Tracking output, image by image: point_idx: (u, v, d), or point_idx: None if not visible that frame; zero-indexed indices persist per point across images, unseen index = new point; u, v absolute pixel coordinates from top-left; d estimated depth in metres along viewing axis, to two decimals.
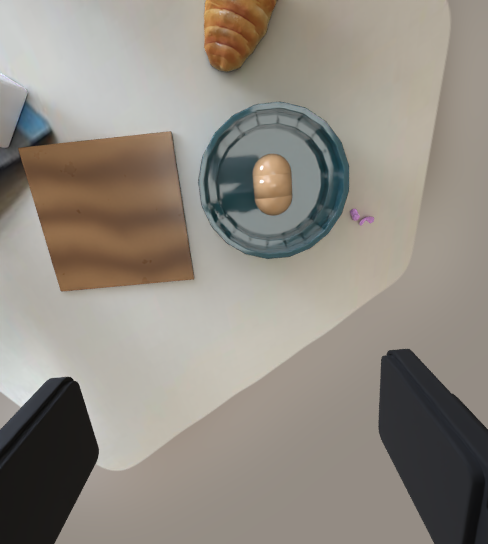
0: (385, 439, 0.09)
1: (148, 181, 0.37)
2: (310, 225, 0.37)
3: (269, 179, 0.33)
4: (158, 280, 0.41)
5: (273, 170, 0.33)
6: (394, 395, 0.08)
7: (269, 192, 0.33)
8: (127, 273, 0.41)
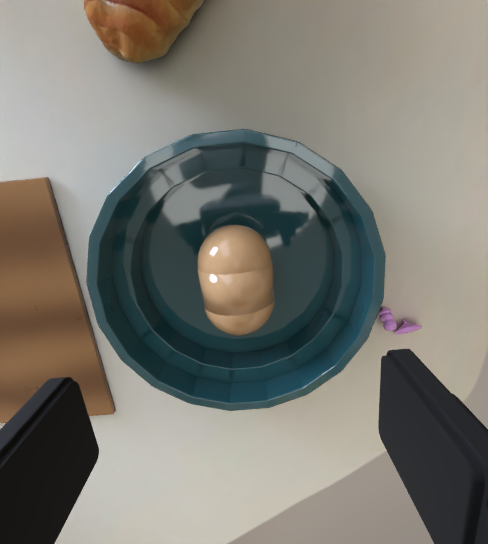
0: (385, 439, 0.09)
1: (16, 265, 0.21)
2: (308, 345, 0.20)
3: (225, 282, 0.16)
4: None
5: (233, 266, 0.16)
6: (394, 395, 0.08)
7: (227, 305, 0.17)
8: (1, 405, 0.24)
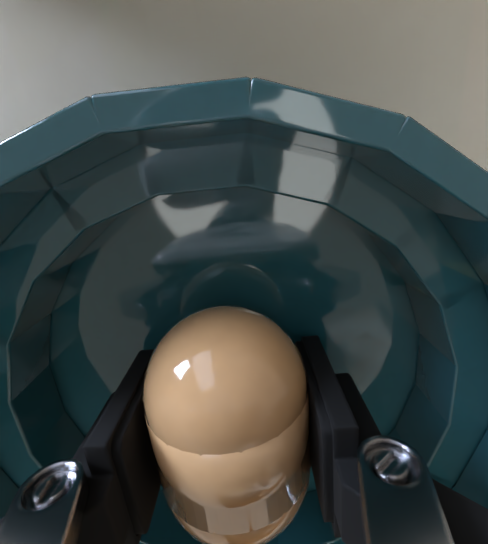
0: None
1: None
2: None
3: (202, 470, 0.07)
4: None
5: (219, 437, 0.06)
6: None
7: (206, 513, 0.07)
8: None
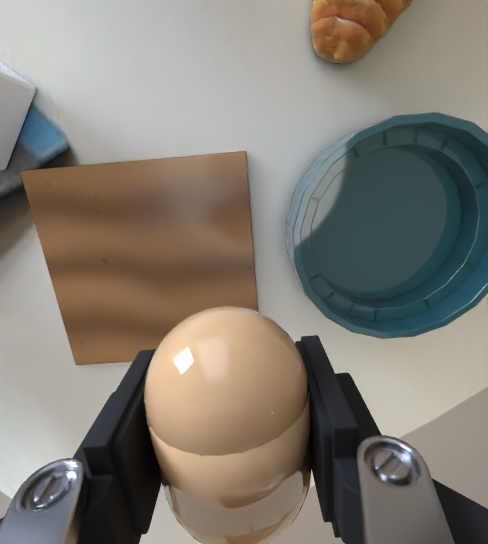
0: None
1: (208, 221, 0.26)
2: (441, 289, 0.26)
3: (203, 471, 0.07)
4: None
5: (221, 438, 0.06)
6: None
7: (207, 514, 0.07)
8: None
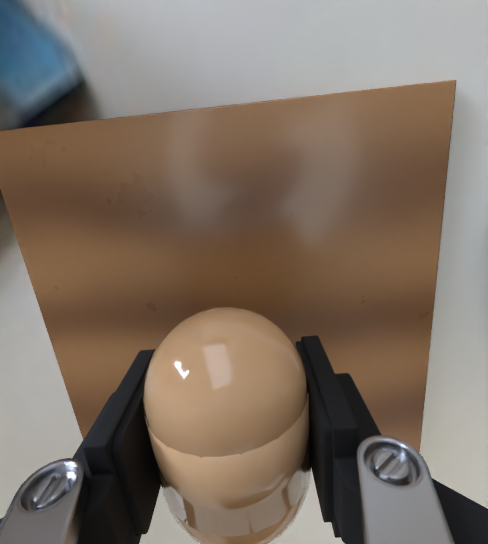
0: None
1: (357, 230, 0.13)
2: None
3: (202, 472, 0.07)
4: None
5: (220, 439, 0.06)
6: None
7: (206, 515, 0.07)
8: None
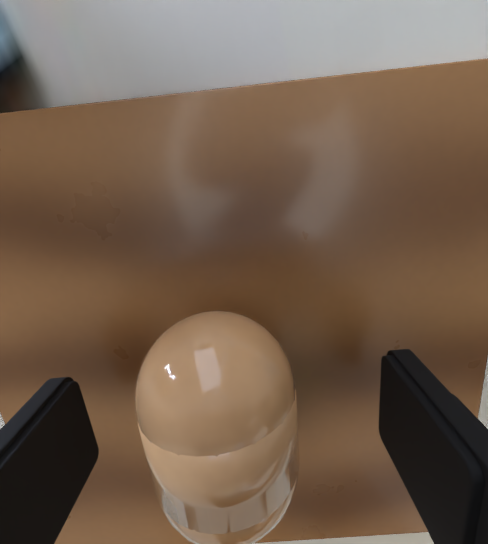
0: (385, 439, 0.09)
1: (392, 256, 0.10)
2: None
3: (180, 469, 0.07)
4: (352, 532, 0.14)
5: (195, 439, 0.07)
6: (394, 395, 0.08)
7: (186, 511, 0.07)
8: None
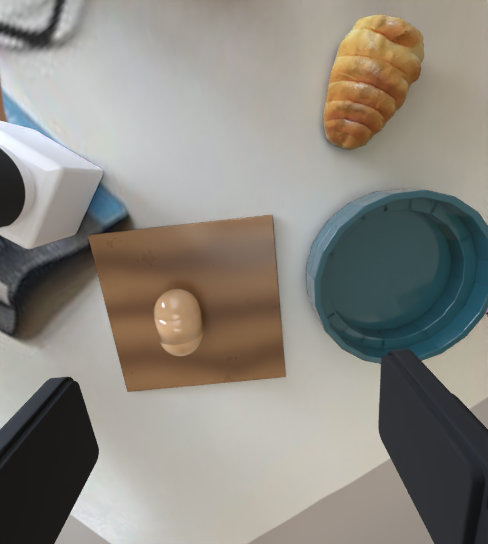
0: (385, 439, 0.09)
1: (241, 271, 0.31)
2: (436, 322, 0.31)
3: (159, 324, 0.29)
4: (243, 378, 0.35)
5: (161, 316, 0.28)
6: (394, 395, 0.08)
7: (161, 337, 0.29)
8: (208, 371, 0.34)
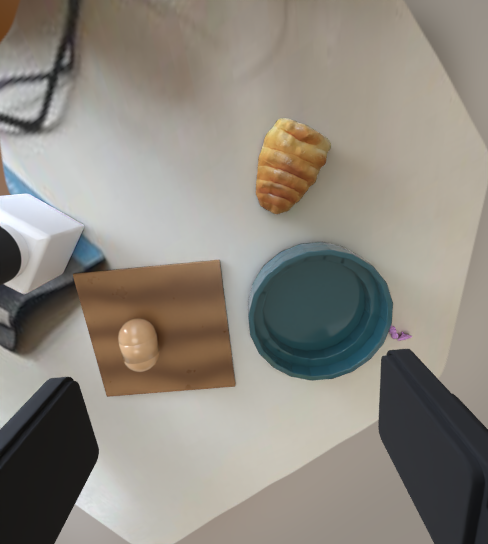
0: (385, 439, 0.09)
1: (196, 303, 0.39)
2: (351, 346, 0.39)
3: (119, 345, 0.37)
4: (201, 387, 0.43)
5: (119, 340, 0.36)
6: (394, 395, 0.08)
7: None
8: (172, 381, 0.42)
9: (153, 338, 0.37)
